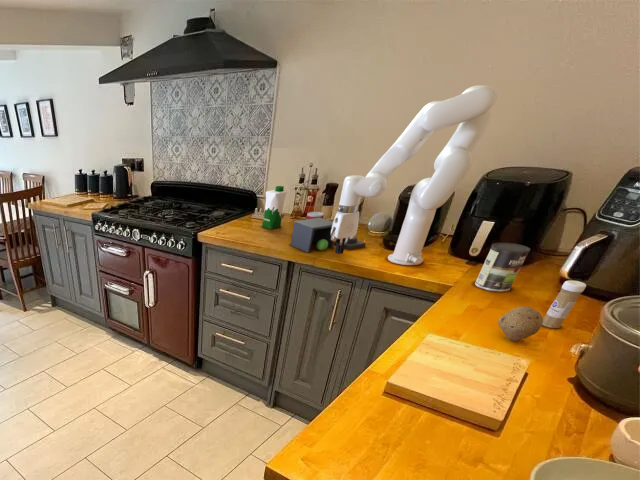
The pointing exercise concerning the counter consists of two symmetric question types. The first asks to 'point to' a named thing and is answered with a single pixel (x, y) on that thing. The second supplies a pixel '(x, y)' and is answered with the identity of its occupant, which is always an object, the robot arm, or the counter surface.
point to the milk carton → (274, 207)
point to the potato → (520, 323)
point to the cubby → (311, 233)
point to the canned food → (315, 215)
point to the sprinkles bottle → (563, 303)
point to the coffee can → (501, 266)
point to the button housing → (353, 244)
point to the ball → (322, 244)
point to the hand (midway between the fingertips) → (338, 252)
